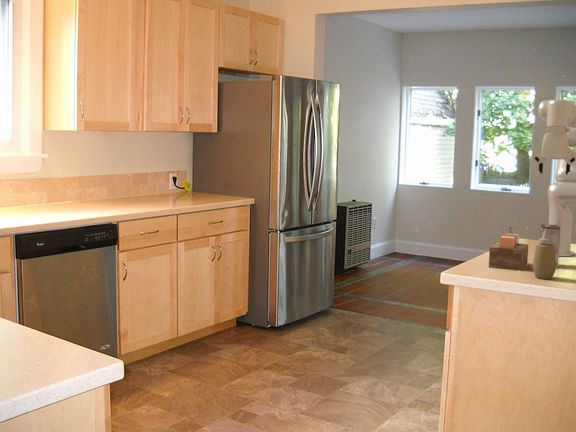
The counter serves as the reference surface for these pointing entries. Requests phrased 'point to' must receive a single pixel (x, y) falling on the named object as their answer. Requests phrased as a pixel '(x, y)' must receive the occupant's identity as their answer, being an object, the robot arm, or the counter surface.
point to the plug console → (508, 257)
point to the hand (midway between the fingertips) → (554, 173)
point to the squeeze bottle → (544, 257)
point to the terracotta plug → (507, 242)
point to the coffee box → (553, 238)
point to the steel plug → (514, 236)
